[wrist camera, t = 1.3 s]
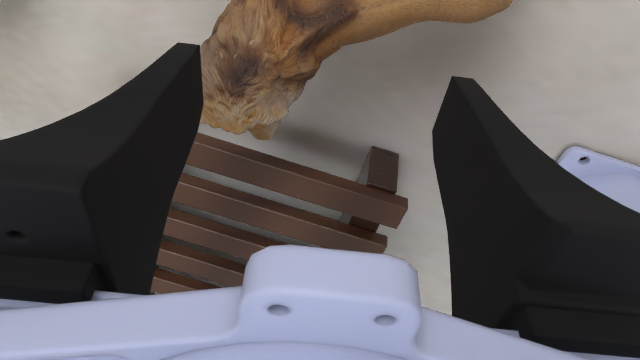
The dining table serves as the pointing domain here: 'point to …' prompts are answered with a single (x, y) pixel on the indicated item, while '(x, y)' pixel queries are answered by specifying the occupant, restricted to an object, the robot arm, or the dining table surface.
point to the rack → (271, 212)
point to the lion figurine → (298, 50)
